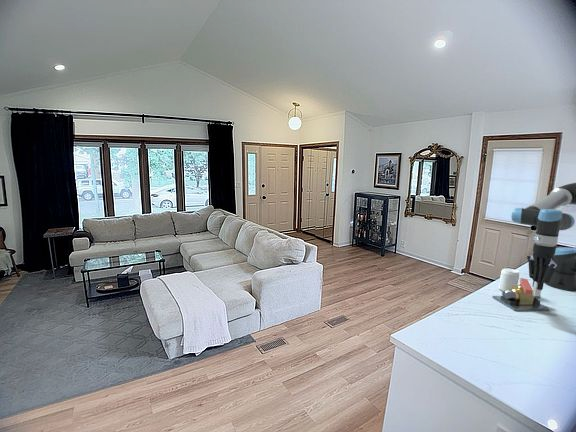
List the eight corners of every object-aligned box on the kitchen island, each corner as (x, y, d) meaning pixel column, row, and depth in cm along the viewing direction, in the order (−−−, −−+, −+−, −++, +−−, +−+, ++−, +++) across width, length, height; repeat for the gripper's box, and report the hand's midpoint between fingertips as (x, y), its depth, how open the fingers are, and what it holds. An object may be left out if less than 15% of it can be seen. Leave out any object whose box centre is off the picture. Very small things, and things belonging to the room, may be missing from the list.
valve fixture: (524, 297, 159) (527, 280, 157) (548, 310, 145) (552, 292, 143) (492, 297, 157) (495, 280, 155) (514, 310, 143) (517, 292, 142)
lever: (519, 284, 151) (520, 277, 150) (525, 285, 150) (527, 278, 149) (524, 296, 136) (525, 289, 136) (531, 298, 135) (533, 290, 134)
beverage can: (519, 294, 163) (523, 273, 161) (504, 293, 163) (508, 272, 161) (509, 288, 171) (512, 268, 169) (495, 287, 171) (498, 267, 169)
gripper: (524, 240, 137) (516, 289, 140) (551, 248, 124) (541, 301, 128) (539, 241, 137) (530, 289, 141) (567, 248, 125) (557, 301, 128)
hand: (536, 295), depth 134 cm, fingers closed
